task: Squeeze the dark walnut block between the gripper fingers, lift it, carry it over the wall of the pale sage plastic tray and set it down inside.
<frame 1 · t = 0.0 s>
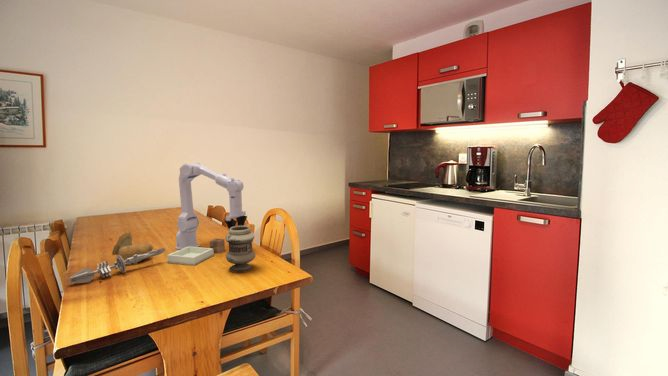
hand: (236, 232, 161), 10 cm above the table, fingers open, 7 cm apart
walnut block: (217, 251, 162), on the table
spaceship: (122, 273, 134), on the table
potato: (136, 261, 148), on the table
rock: (122, 251, 163), on the table
sage tray: (191, 259, 151), on the table
apothecary jar: (241, 269, 139), on the table
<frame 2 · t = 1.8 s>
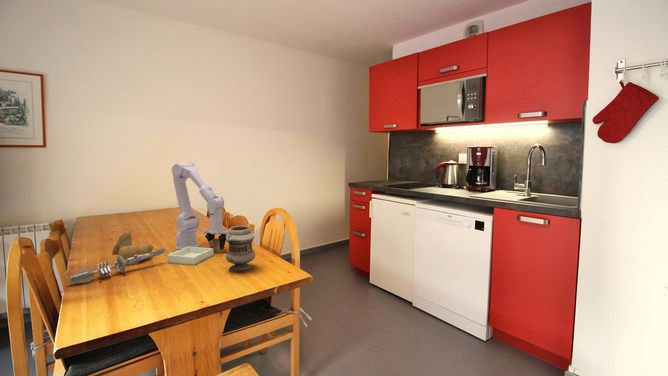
hand: (217, 248, 162), 2 cm above the table, fingers closed on walnut block, 5 cm apart
walnut block: (217, 251, 162), on the table, touching gripper
everything else where it was.
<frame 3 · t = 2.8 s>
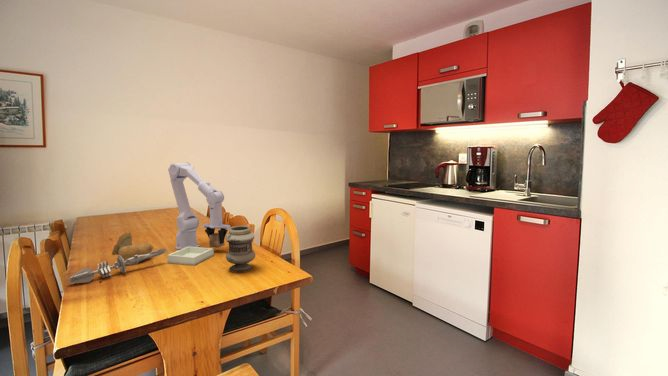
hand: (217, 242, 162), 4 cm above the table, fingers closed on walnut block, 5 cm apart
walnut block: (217, 246, 162), point 3 cm above the table, touching gripper
everything else where it was.
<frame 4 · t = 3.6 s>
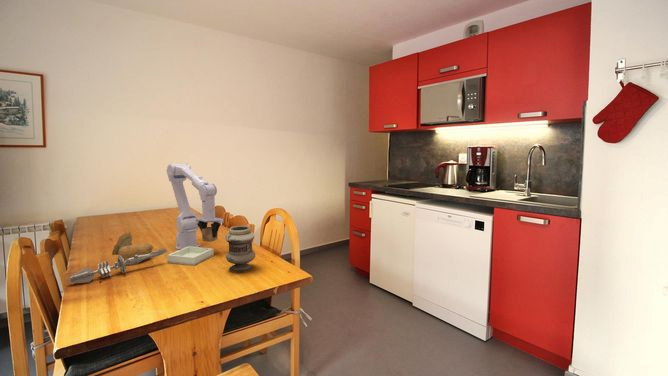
hand: (209, 236, 158), 8 cm above the table, fingers closed on walnut block, 5 cm apart
walnut block: (210, 240, 159), point 7 cm above the table, touching gripper
everything else where it was.
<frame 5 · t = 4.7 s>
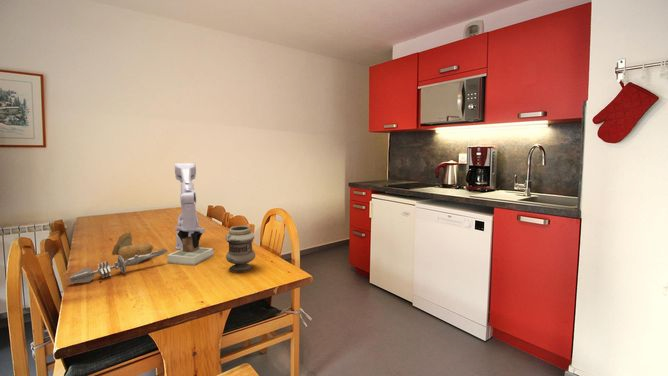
hand: (190, 246, 150), 6 cm above the table, fingers closed on walnut block, 5 cm apart
walnut block: (191, 250, 151), point 4 cm above the table, touching gripper
when the fingers open (4 cm above the table, at t = 5.6 s): walnut block drops 1 cm, resting on sage tray.
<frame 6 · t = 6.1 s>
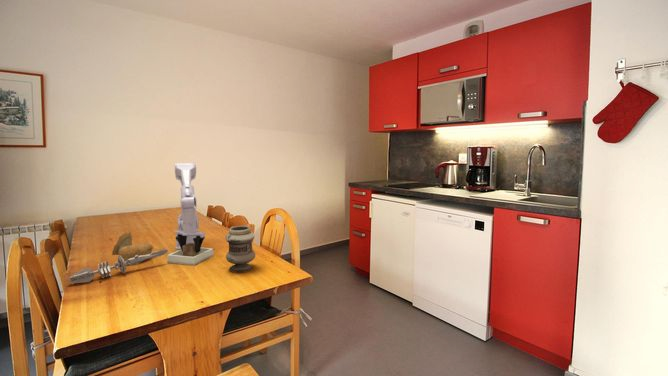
hand: (190, 251, 151), 4 cm above the table, fingers open, 7 cm apart
walnut block: (191, 257, 151), point 1 cm above the table, touching sage tray
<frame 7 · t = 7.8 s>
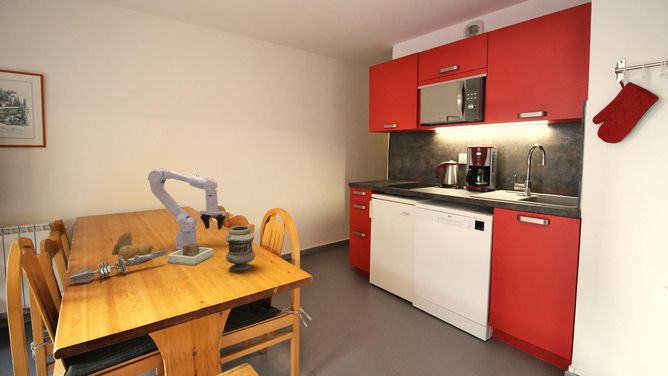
hand: (213, 228, 170), 9 cm above the table, fingers open, 7 cm apart
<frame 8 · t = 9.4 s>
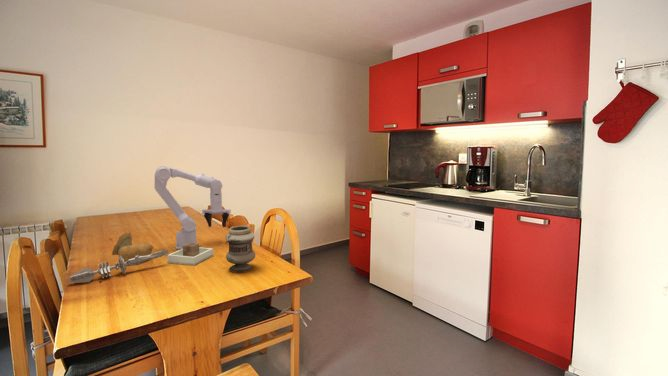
hand: (217, 226, 175), 9 cm above the table, fingers open, 7 cm apart
at the end: walnut block inside the target area on the sage tray (0.2 cm from its centre), point 0.8 cm above the sage tray's base; walnut block tilted 0°; the gripper is holding nothing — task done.
